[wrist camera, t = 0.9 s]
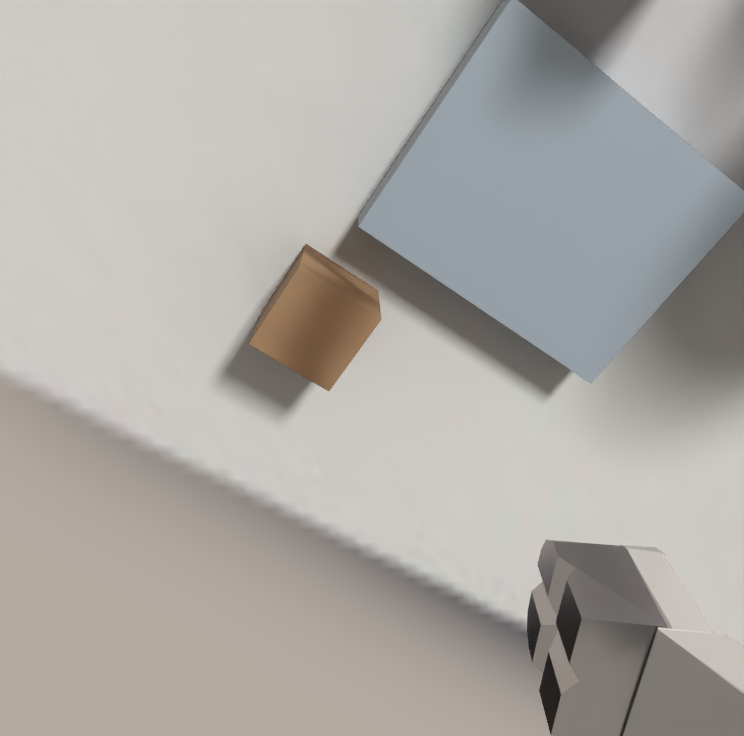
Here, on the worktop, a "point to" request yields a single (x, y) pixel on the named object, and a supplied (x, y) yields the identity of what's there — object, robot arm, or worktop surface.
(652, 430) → the worktop surface
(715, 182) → the plate
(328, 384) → the walnut cube
